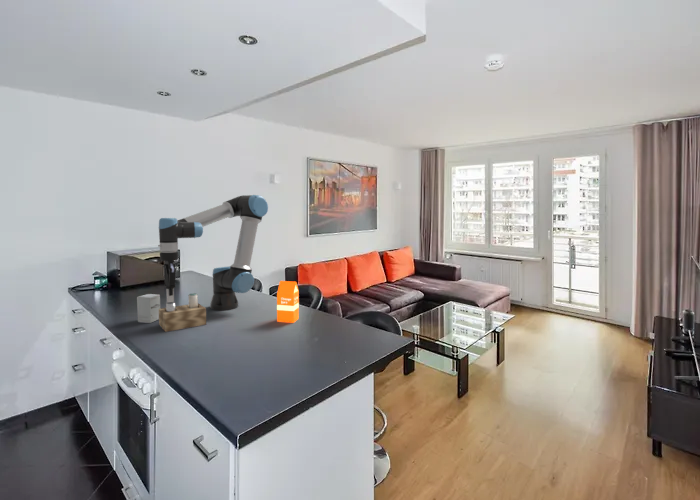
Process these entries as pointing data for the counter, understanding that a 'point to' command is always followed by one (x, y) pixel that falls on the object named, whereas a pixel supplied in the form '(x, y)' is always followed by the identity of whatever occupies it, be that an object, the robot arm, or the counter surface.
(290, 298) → the orange juice
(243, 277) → the robot arm
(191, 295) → the cream peg
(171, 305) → the aluminium peg
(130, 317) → the counter surface
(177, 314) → the oak socket block
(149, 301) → the supplement box
